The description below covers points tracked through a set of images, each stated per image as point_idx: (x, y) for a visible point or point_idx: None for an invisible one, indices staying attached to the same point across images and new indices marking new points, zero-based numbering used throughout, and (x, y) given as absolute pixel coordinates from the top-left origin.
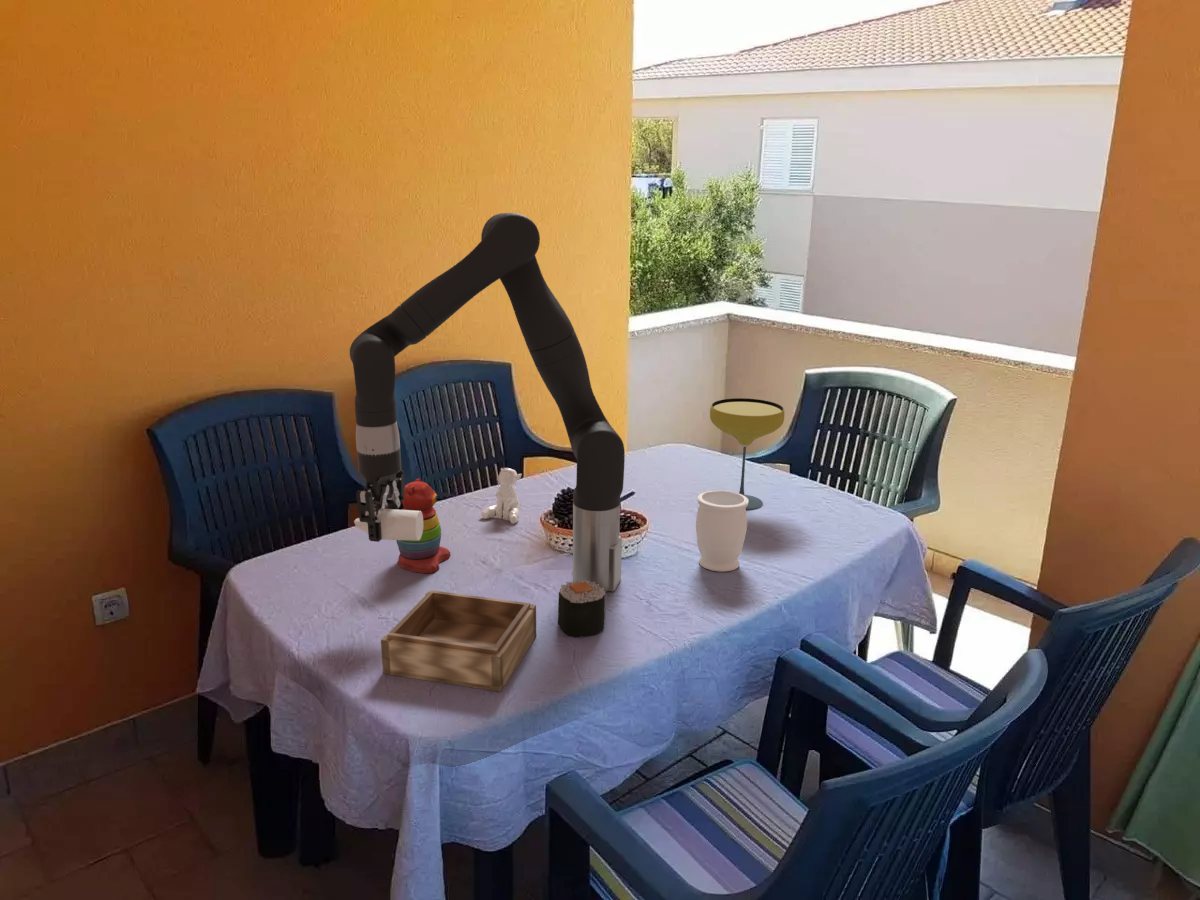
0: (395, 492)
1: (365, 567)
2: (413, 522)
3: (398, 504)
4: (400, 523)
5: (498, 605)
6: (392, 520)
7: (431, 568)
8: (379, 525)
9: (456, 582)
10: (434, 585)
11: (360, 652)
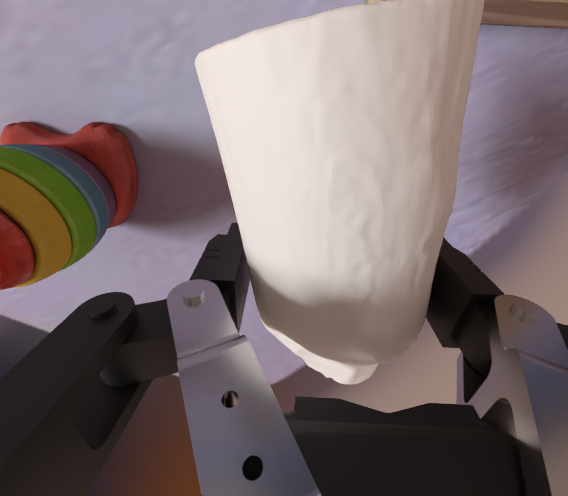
0: (267, 431)
1: (166, 267)
2: (477, 28)
3: (204, 295)
4: (456, 162)
5: None
6: (436, 234)
7: (113, 135)
8: (478, 280)
9: (133, 37)
10: (175, 97)
11: (505, 133)
